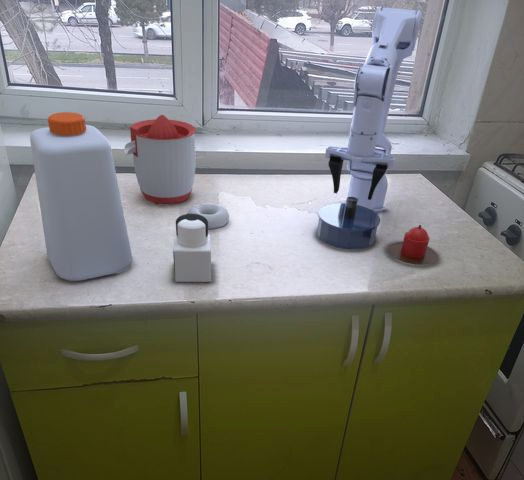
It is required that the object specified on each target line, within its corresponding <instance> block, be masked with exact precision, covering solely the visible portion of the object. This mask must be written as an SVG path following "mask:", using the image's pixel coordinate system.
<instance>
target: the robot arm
mask: <svg viewBox="0 0 524 480" xmlns="http://www.w3.org/2000/svg"><path fill="white" fill-rule="evenodd" d="M373 17H374V18H373V23H372V30H371V36H372V41H371V42H372V44H371V45H372V46H371V47H370V48H369V52H368V54H367V57H366V58H365V61H364V63H363V65H362V67H361V66H358V68H357V71H356V74H355V78H354V83H353V99H352V100H353V101H352V107H353V111H352V116H351V117H352V118H351V123H350V128H349V129H350V130H349V135H348V141H347V147H344V146H343V147H341V146H330V145H328V146H326V148H325V152H324V158H326V159H329V160H328V162H327V164H328V168H329V171H330V174H331V178H332V185H333V194H336V195H337V194H338V192H339V190H340V187H341V186H340V185H341V177H342V176H341V175H342V170H343V165H344V161H346V169H347V171H348V172H350V173H349V175H350V181H349V184H348V192H347V197H355V198H357V199H358V203H357V205H360V206H363V207H366V208H368V209H371V210H373V211H374V212H376V213H377V212H379V211H384V210H386V208H385V200H386V196H387V191H388V186H389V184H388V183H389V182H388V178H387V176H386V175H387V172H388V169H389V170H393V168H394V166H395V161H396V157H395V156H392V155H391V154H392V148H393V146H392V142H391V141H390V140H389V138H387V136H386V135H385V129H386V125H387V124H386V123H387V121H388V117H389V112H390V107H391V103H392V100H393V94H394V91H395V86H396V81H397V77H398V73H399V71H400V67H401V66H402V63H403V61H404V60H405V59H406V58H407V59H408V58H409V57H411V56H412V55H413V52H414V51H415V48H416V45H417V44H416V43H417V41H418V36H419V33H420V29H421V24H422V18H423V12H422V11H421V10H420V9H418V10H414V9H405V8H394V7H387V6H386V7H385V6H383V5H379V6H378V8H377V9H376V11H375V13H374V16H373ZM340 203H346V201H342V202H341V201H340Z"/></svg>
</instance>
